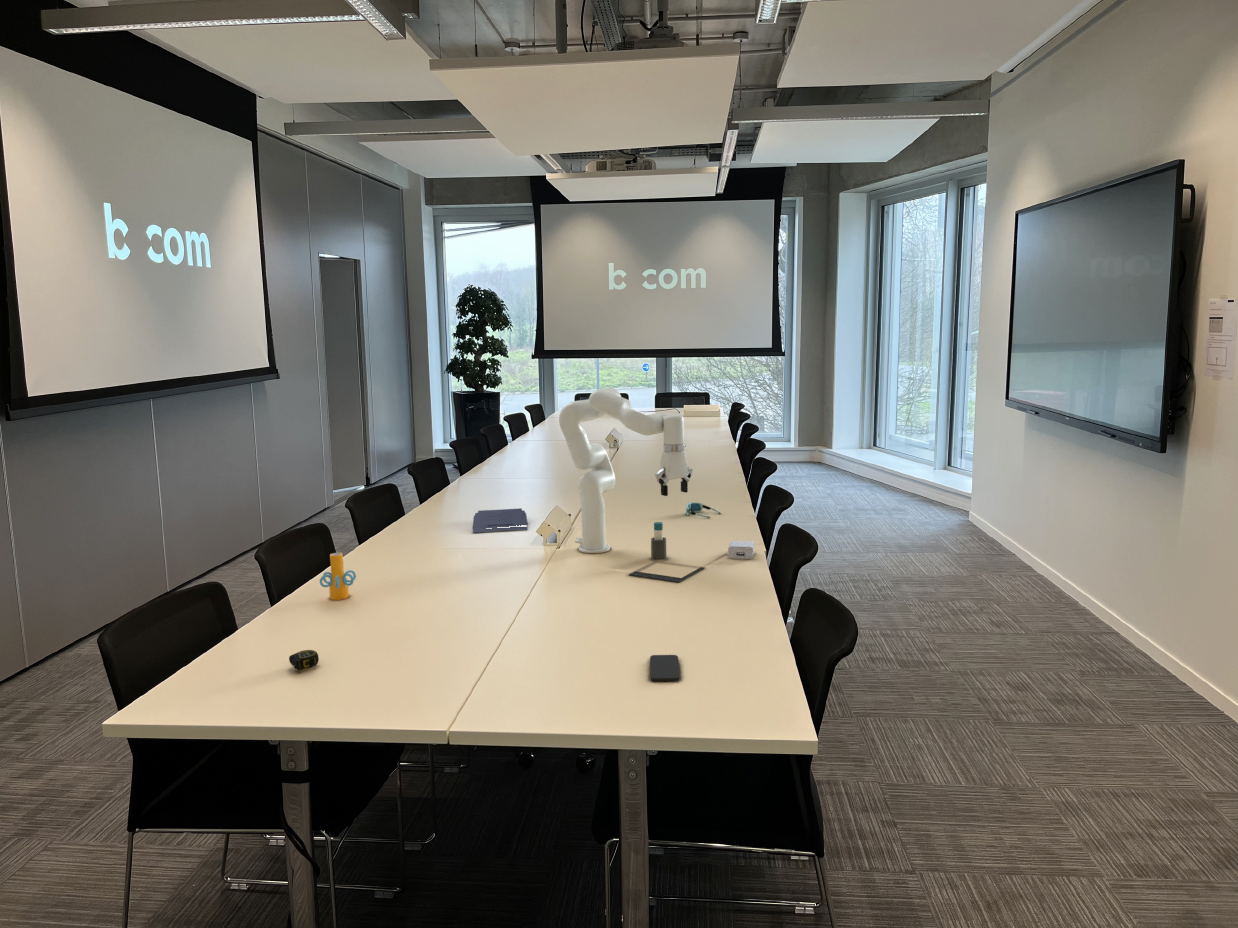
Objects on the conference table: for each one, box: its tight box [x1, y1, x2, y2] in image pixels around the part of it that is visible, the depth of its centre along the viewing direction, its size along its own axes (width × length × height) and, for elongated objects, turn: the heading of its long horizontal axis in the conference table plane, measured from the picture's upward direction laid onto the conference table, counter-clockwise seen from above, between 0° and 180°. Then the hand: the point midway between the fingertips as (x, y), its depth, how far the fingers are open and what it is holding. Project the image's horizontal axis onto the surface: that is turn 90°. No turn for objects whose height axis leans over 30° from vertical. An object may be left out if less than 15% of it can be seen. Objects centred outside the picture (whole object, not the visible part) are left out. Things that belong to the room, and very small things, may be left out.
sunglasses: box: [685, 501, 722, 519], centre depth 399 cm, size 14×15×5 cm
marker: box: [653, 521, 664, 540], centre depth 322 cm, size 3×3×14 cm
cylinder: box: [319, 552, 357, 601], centre depth 285 cm, size 12×10×15 cm
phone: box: [649, 654, 681, 682], centre depth 218 cm, size 7×1×15 cm
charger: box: [727, 540, 755, 560], centre depth 328 cm, size 5×9×15 cm
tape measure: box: [288, 649, 320, 672], centre depth 226 cm, size 7×7×4 cm
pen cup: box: [650, 536, 668, 561], centre depth 323 cm, size 6×6×8 cm
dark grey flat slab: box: [472, 507, 528, 534], centre depth 389 cm, size 24×30×4 cm
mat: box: [628, 566, 705, 584], centre depth 306 cm, size 20×20×1 cm
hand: (674, 493), depth 316 cm, fingers open, 9 cm apart
